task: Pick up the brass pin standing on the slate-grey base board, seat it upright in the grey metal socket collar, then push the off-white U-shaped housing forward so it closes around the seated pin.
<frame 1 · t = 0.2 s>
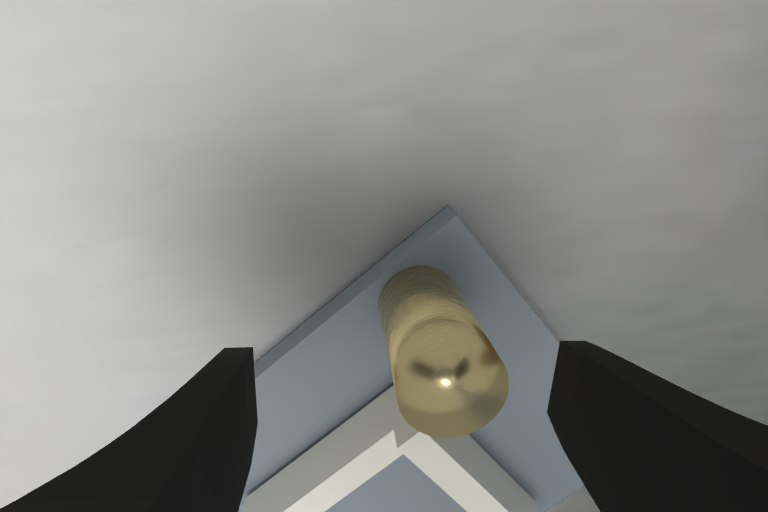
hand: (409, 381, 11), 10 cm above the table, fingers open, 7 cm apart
pin: (418, 303, 19), point 2 cm above the table, touching base board
base board: (356, 467, 24), on the table
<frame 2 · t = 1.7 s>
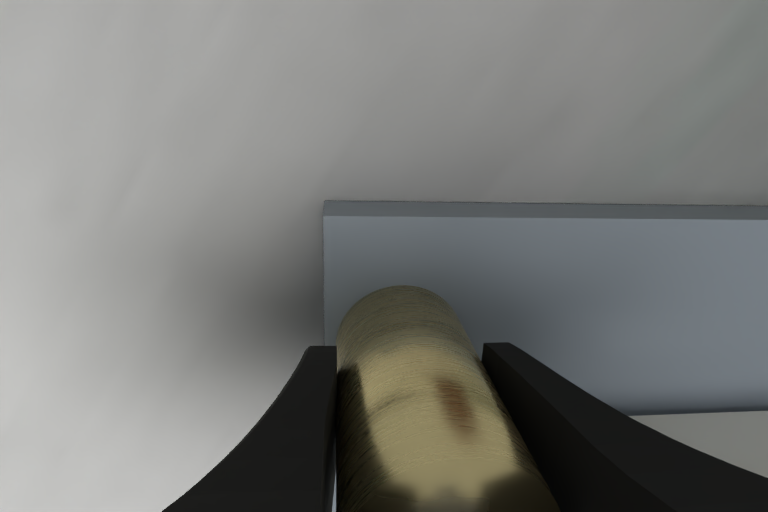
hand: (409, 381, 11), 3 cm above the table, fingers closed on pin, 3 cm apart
pin: (399, 343, 12), point 2 cm above the table, touching base board, gripper
when the fingers open (4 cm above the table, at t = 4.9 s): pin stays where it is, resting on base board.
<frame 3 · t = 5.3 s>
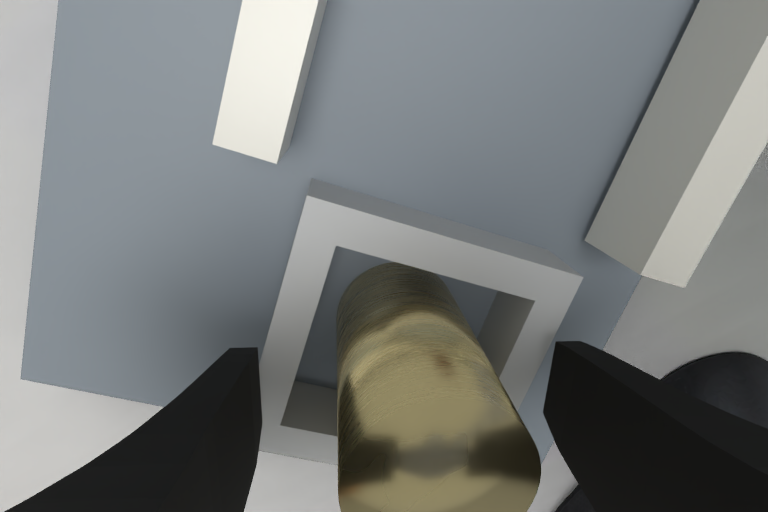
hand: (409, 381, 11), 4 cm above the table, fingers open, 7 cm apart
pin: (396, 317, 13), point 2 cm above the table, touching base board
computer mouse: (638, 487, 20), on the table
base board: (427, 33, 12), on the table
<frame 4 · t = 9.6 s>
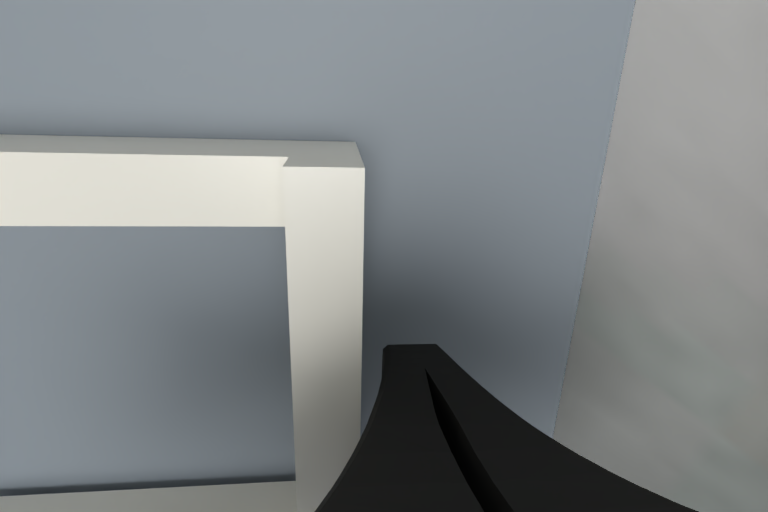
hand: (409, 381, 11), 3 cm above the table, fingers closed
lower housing: (123, 403, 10), point 4 cm above the table, slide at 0.1 cm, touching gripper
base board: (129, 273, 13), on the table
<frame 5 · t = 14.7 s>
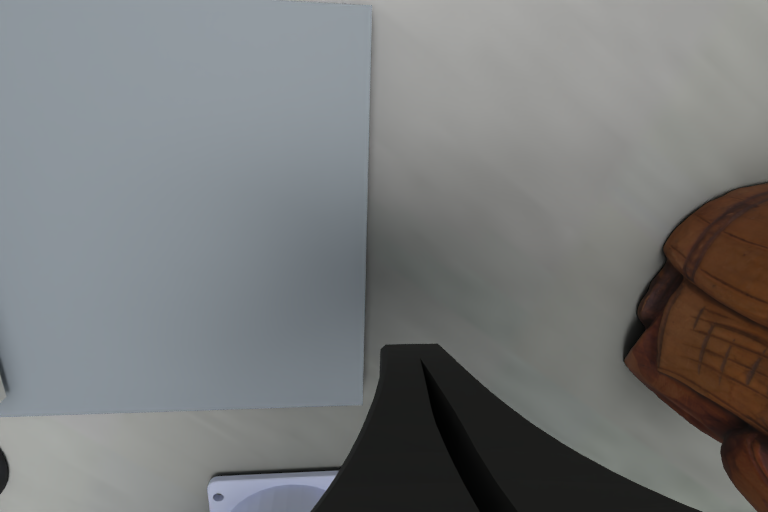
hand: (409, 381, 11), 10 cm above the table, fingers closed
base board: (61, 221, 19), on the table
wooden figurine: (701, 284, 23), on the table
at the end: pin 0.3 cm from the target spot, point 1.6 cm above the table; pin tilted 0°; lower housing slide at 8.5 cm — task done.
